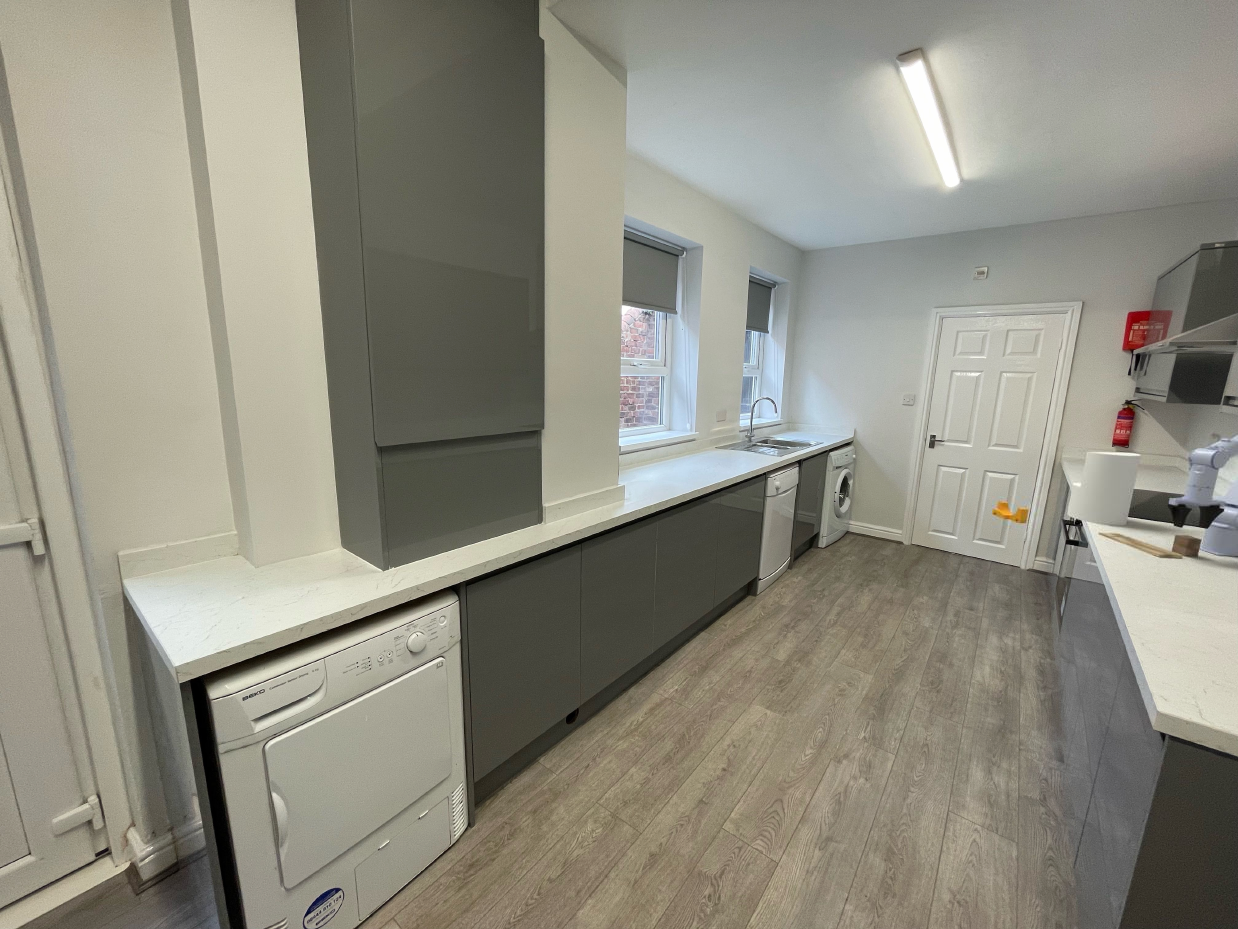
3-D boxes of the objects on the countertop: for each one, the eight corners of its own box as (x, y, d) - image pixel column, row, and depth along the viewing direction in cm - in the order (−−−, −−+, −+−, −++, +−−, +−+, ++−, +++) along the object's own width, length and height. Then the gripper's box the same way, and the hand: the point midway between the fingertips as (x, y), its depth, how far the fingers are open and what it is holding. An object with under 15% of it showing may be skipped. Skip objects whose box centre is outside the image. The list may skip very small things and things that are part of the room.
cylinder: (1139, 527, 189) (1154, 456, 184) (1093, 526, 189) (1108, 455, 184) (1096, 515, 206) (1110, 449, 201) (1055, 514, 206) (1067, 448, 201)
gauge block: (1184, 552, 162) (1188, 535, 161) (1197, 557, 158) (1201, 539, 157) (1171, 552, 162) (1175, 534, 161) (1184, 556, 158) (1188, 538, 157)
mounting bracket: (991, 516, 201) (994, 501, 200) (1002, 516, 201) (1004, 501, 200) (1014, 525, 190) (1017, 509, 188) (1025, 525, 190) (1028, 509, 188)
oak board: (1118, 536, 178) (1119, 533, 178) (1182, 558, 156) (1182, 554, 156) (1098, 535, 178) (1098, 532, 178) (1158, 557, 157) (1159, 553, 157)
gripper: (1211, 484, 159) (1201, 524, 162) (1163, 482, 160) (1154, 522, 163) (1236, 489, 152) (1225, 531, 155) (1186, 487, 153) (1176, 529, 156)
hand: (1190, 527), depth 158 cm, fingers open, 7 cm apart
